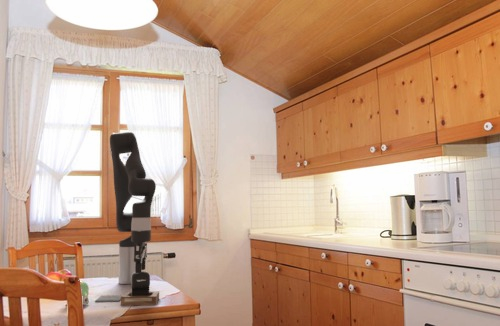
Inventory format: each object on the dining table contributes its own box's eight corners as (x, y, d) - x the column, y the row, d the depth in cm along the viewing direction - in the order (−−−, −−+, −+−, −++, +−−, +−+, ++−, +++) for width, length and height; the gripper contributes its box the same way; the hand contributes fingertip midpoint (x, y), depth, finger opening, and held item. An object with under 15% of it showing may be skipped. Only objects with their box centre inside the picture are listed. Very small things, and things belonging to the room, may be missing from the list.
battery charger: (131, 303, 172) (132, 273, 173) (130, 301, 176) (131, 271, 177) (150, 302, 175) (150, 272, 176) (148, 300, 179) (149, 270, 179)
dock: (126, 299, 180) (126, 291, 180) (159, 299, 181) (159, 291, 181) (120, 305, 170) (120, 297, 170) (155, 304, 171) (155, 296, 171)
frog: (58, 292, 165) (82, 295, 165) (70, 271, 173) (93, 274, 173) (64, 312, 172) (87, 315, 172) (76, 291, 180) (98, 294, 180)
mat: (101, 297, 185) (101, 295, 185) (123, 296, 185) (123, 295, 185) (95, 302, 176) (95, 300, 176) (118, 301, 176) (118, 300, 176)
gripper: (134, 228, 185) (134, 269, 183) (127, 230, 170) (126, 274, 169) (153, 228, 185) (152, 268, 184) (147, 230, 171) (147, 274, 169)
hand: (140, 271), depth 176 cm, fingers open, 8 cm apart
